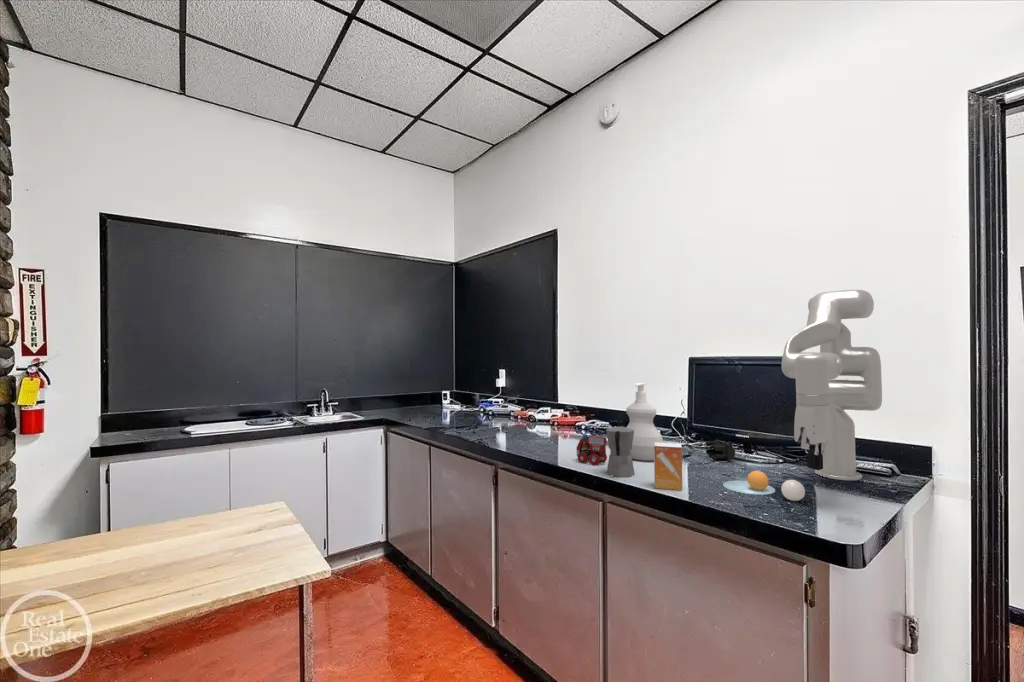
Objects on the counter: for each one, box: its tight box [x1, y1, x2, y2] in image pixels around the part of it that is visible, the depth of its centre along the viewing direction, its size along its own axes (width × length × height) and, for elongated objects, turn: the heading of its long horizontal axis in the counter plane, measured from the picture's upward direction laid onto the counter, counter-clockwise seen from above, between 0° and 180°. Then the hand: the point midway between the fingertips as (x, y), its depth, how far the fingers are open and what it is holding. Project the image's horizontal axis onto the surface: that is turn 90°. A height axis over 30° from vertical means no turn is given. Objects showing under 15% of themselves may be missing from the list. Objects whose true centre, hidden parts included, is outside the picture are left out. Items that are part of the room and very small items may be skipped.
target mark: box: [722, 479, 776, 496], centre depth 137 cm, size 14×14×1 cm
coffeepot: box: [605, 420, 635, 478], centre depth 154 cm, size 15×9×18 cm, turn 160°
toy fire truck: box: [576, 433, 608, 466], centre depth 171 cm, size 7×12×10 cm, turn 49°
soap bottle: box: [625, 382, 664, 462], centre depth 176 cm, size 17×12×29 cm
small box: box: [653, 442, 683, 491], centre depth 139 cm, size 8×6×13 cm
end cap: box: [705, 439, 736, 462], centre depth 174 cm, size 10×7×7 cm
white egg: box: [780, 479, 806, 502], centre depth 125 cm, size 6×6×6 cm
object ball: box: [746, 470, 770, 490], centre depth 135 cm, size 6×6×6 cm
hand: (815, 468), depth 122 cm, fingers closed
